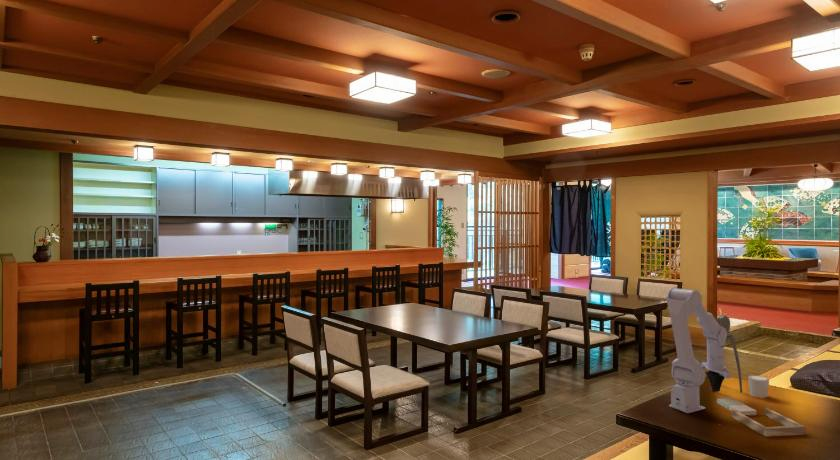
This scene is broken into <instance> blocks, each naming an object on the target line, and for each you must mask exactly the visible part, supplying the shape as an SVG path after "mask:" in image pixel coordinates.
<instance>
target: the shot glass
mask: <svg viewBox="0 0 840 460" xmlns="http://www.w3.org/2000/svg"><path fill="white" fill-rule="evenodd" d="M747 380H748V388H749V395H750V396H751V397H753V396H755V397H754V398H756V397H767V396H768V394H769V385H770V379H769V378H768V377H766V376H761V375H748V376H747ZM767 398H768V397H767Z"/></svg>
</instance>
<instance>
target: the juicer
mask: <svg viewBox="0 0 840 460" xmlns="http://www.w3.org/2000/svg"><path fill="white" fill-rule="evenodd" d="M716 321H717V322H718V324H719V325H720V326H723V327H724V328H725V329H726V331H727V338H726V342H727V341H729V340H730V343H731V345H732V349H733V353H734V354H733V355H734V357H735V363H736V368H737V374H738V383H739V392H740V393H742V394H743V381H742V369H741V364H740V358H739V354H738V349H737V345H736V341H735V339H734V335H733V334H730V330H731V320H730V318H729V317H728V316H727V315H719V316H717V318H716ZM729 334H730V335H729ZM725 346H726V344H725V345H724V347H725ZM710 389H711V390H710V391H711V392H713V391H712V388H710Z"/></svg>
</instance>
